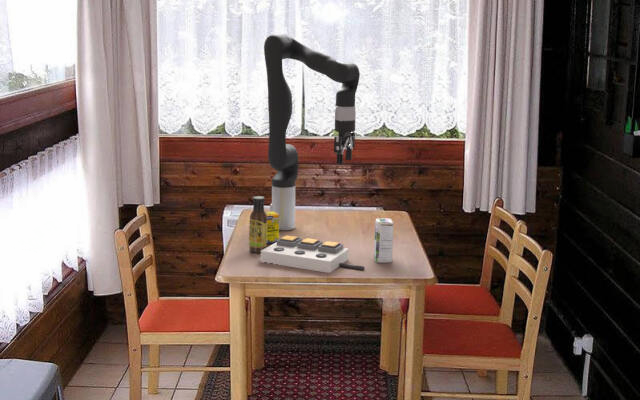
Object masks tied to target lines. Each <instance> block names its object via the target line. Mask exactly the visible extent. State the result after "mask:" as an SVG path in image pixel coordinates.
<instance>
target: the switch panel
mask: <svg viewBox="0 0 640 400" xmlns="http://www.w3.org/2000/svg"><path fill="white" fill-rule="evenodd" d="M285 236H286V235H284V236H283V237H285ZM283 237H281V238H283ZM281 238H279V240H277V242H276V243H271V244H270V245H269V246H266V248H265V249H263V250H261V253H260V262H261V261H262V262H261V263H264V262H267V263H266V264H270V263H273V264H272V265H276V264H278V265H277V266H283V267H284V266H285V267H291V268H296V269H302V270H309V271H316V272H320V273H326V274H327V273H328V274H331V273H332V272H333V271H335V270H336V269H337V268H339V267H341V268H347V269H354V270H361V271H364V270H366V269H365V268H366V267H365V266H364V265H363V266H362V265H357V264H350V263H346V262H348V261H349V248H346V247H345V248H344V244H343V243H340V246H338V247H337V248H335V249H334V248H327V247H322V244H324V243H325V242H323V241H322V240H319V243H317V244H316V245H314V246H313V245H306V244H301V241H303V240H305V239H306V238H304V239H303V238H302V237H298V240H297V241H295V242H286V241H280V239H281Z"/></svg>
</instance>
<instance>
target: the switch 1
mask: <svg viewBox="0 0 640 400" xmlns="http://www.w3.org/2000/svg"><path fill="white" fill-rule="evenodd" d="M284 236H285V237H284ZM284 236H283V238H282V237H281V238H279V239H280V241H286V242H295V241H297V240H298V238H299V237H298V236H292V235H284Z"/></svg>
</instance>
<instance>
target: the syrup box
mask: <svg viewBox="0 0 640 400" xmlns="http://www.w3.org/2000/svg"><path fill="white" fill-rule="evenodd" d="M394 224H395V223H394V222H393V220H392V219H391V218H386V217H385V218H383V217H380V218H375V224H374V225H375V226H374V239H373V240H374V245H373V250H374V251H373V259H374V261H375V263H377V264H378V263H382V264H383V263H392V262H393V243H394V241H393V240H394Z"/></svg>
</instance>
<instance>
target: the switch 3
mask: <svg viewBox="0 0 640 400" xmlns="http://www.w3.org/2000/svg"><path fill="white" fill-rule="evenodd" d="M323 243H324V244H323ZM323 243H322V247H327V248H334V249H335V248H337V247H338V246H340V244H341V243H340V242H337V241H325V242H323Z"/></svg>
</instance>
